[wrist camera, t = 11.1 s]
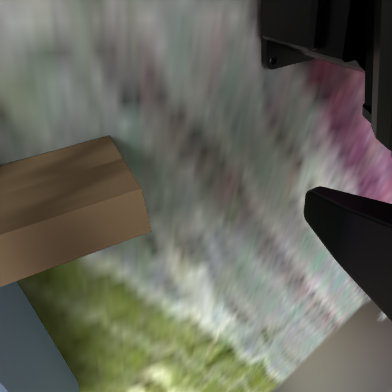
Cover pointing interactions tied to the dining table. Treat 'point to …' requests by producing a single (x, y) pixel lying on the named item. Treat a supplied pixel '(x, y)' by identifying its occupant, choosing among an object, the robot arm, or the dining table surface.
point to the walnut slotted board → (66, 207)
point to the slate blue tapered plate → (28, 349)
